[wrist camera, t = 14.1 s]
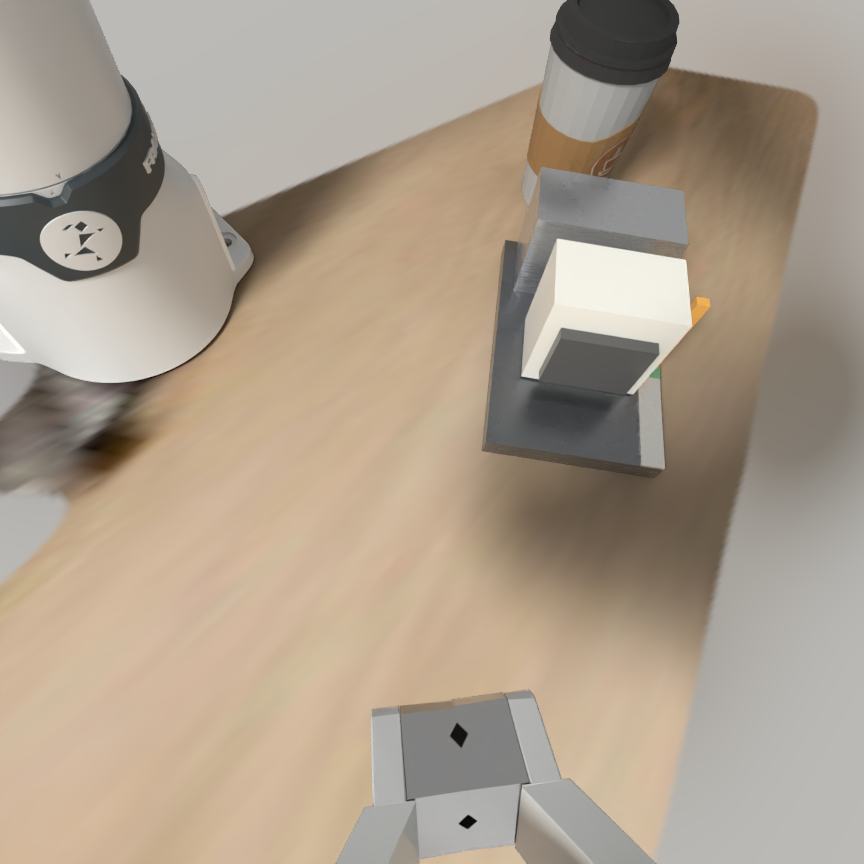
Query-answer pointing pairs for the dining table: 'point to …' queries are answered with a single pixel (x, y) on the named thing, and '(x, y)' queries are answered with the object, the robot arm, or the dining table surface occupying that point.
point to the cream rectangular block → (606, 317)
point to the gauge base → (519, 279)
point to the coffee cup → (597, 83)
